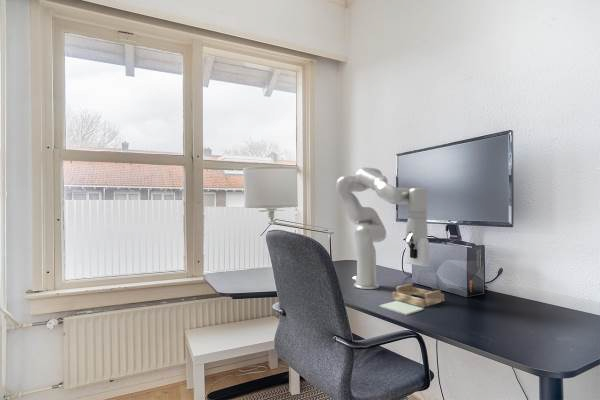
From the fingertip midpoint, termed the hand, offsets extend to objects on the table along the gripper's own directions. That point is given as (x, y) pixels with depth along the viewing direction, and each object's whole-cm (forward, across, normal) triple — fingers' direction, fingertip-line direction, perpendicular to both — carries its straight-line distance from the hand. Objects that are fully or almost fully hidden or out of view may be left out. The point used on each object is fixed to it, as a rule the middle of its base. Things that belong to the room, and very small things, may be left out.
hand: (417, 257), depth 147 cm
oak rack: (+19, 0, +1) cm, 19 cm away
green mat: (+19, +16, +4) cm, 25 cm away
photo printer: (+4, 0, 0) cm, 4 cm away
